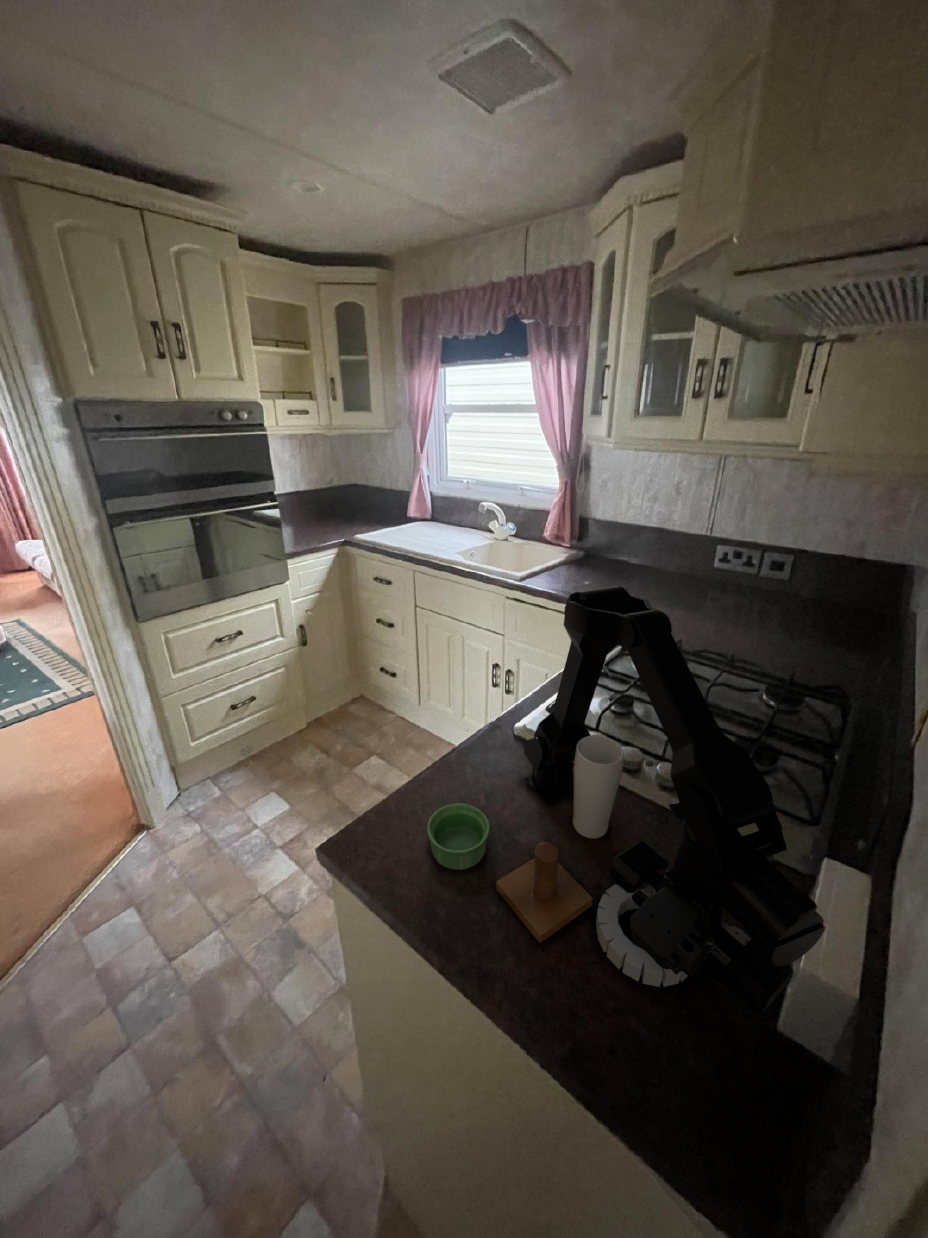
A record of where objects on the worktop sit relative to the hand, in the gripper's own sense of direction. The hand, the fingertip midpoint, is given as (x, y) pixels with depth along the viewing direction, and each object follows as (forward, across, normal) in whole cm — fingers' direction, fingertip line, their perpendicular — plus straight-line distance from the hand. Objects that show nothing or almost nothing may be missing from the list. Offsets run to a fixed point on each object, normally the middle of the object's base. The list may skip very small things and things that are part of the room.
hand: (679, 962), depth 60 cm
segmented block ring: (+1, -5, 0) cm, 5 cm away
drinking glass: (+1, -21, +7) cm, 22 cm away
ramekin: (+1, -29, -12) cm, 31 cm away
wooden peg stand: (+1, -16, -7) cm, 17 cm away
